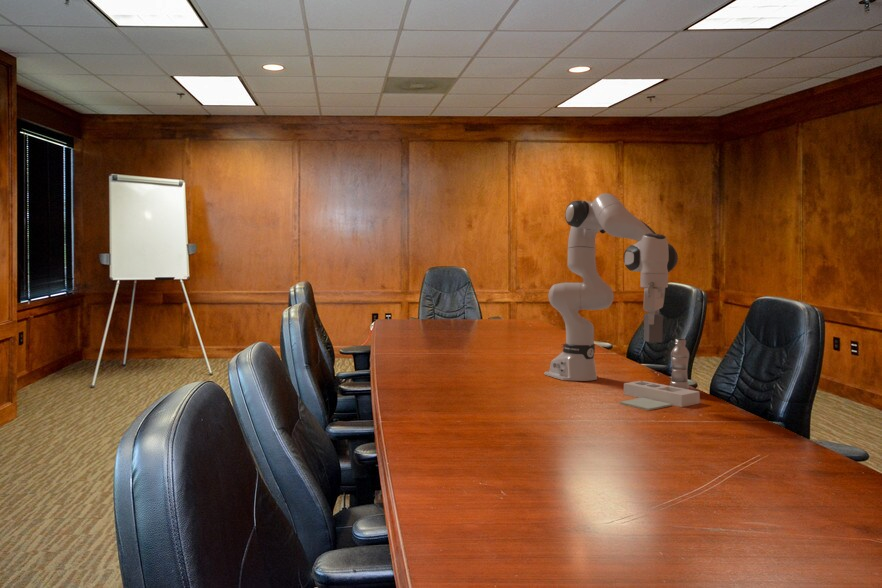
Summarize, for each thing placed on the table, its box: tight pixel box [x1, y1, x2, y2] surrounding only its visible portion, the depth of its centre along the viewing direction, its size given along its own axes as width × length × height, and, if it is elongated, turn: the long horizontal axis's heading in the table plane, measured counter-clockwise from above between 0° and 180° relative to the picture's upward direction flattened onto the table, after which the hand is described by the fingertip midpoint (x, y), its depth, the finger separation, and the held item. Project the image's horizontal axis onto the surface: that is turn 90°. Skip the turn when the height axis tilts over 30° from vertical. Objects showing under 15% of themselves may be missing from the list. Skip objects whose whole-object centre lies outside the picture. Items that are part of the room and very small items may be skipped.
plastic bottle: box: [669, 338, 690, 390], centre depth 239 cm, size 6×7×20 cm
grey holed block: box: [623, 380, 701, 408], centre depth 232 cm, size 24×10×4 cm, turn 35°
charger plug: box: [643, 313, 664, 343], centre depth 222 cm, size 5×4×9 cm
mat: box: [619, 397, 673, 411], centre depth 222 cm, size 12×12×1 cm
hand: (653, 323), depth 222 cm, fingers closed on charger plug, 6 cm apart
